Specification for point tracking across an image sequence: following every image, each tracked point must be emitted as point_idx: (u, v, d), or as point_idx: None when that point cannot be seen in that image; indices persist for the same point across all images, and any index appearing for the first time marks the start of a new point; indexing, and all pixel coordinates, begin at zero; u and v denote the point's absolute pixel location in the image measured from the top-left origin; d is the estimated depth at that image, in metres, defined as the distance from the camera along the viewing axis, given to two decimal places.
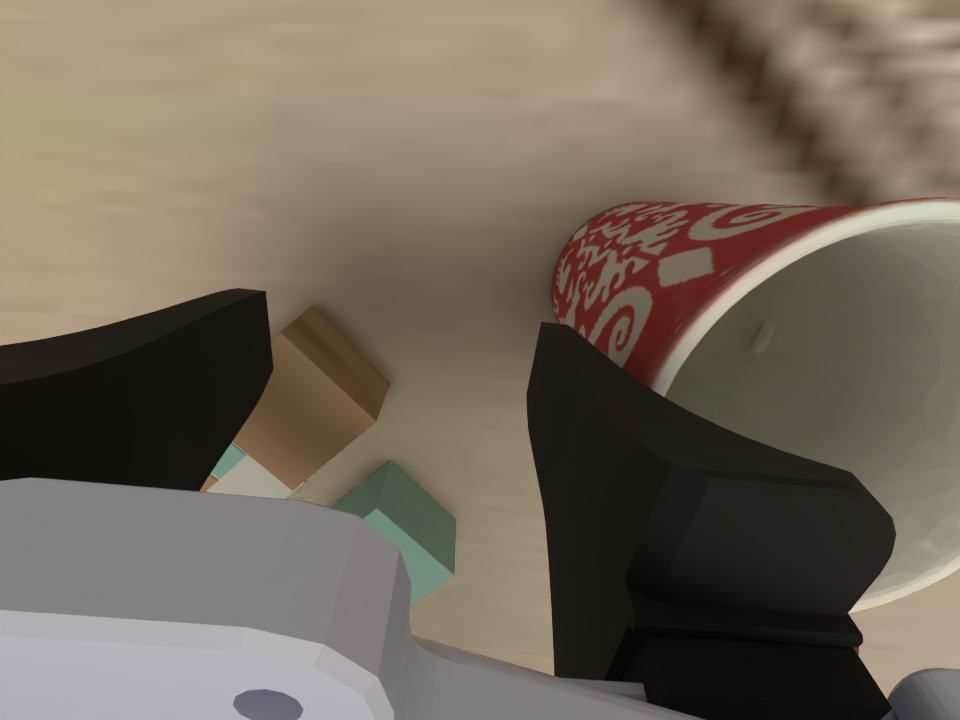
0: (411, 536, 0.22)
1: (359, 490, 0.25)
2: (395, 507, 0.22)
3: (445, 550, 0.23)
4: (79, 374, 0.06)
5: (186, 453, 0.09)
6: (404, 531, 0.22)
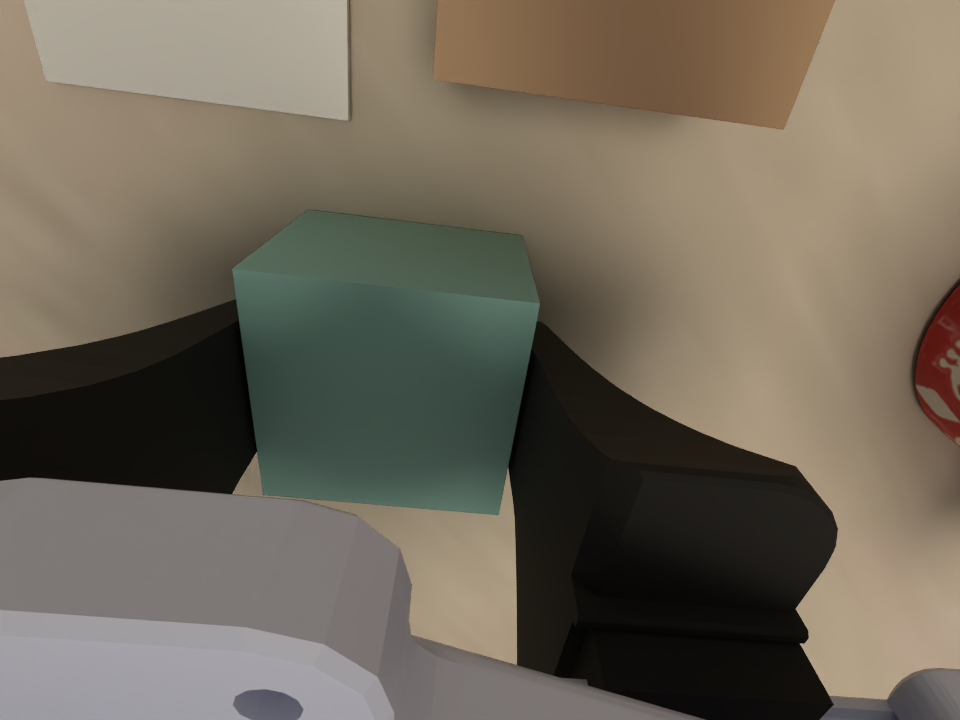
0: (519, 406, 0.09)
1: (434, 235, 0.11)
2: None
3: None
4: (130, 379, 0.06)
5: (221, 456, 0.09)
6: None
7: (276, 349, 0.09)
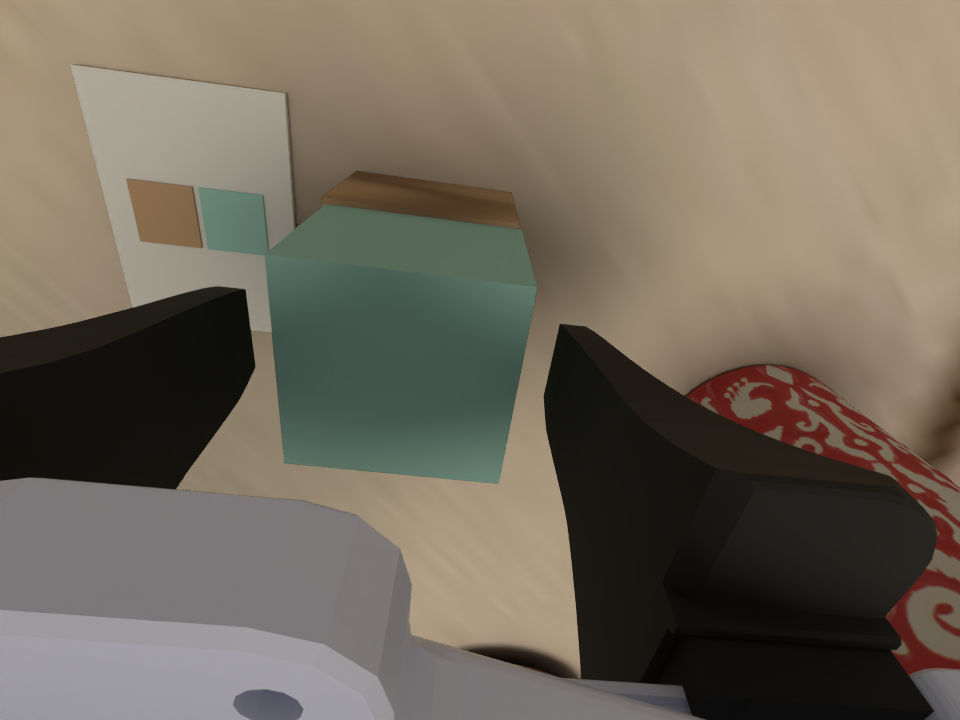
0: (518, 381, 0.10)
1: (442, 228, 0.12)
2: None
3: None
4: (41, 370, 0.06)
5: (160, 451, 0.09)
6: None
7: (301, 327, 0.10)
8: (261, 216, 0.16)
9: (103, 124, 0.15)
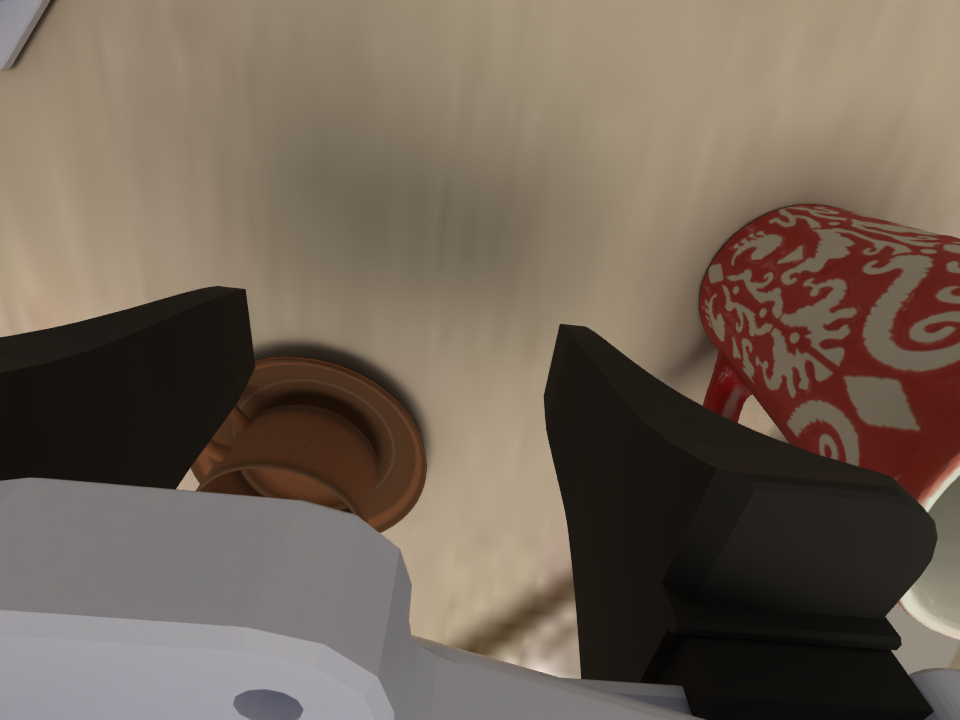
0: None
1: None
2: None
3: None
4: (42, 370, 0.06)
5: (160, 451, 0.09)
6: None
7: None
8: None
9: None
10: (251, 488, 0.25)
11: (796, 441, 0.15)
